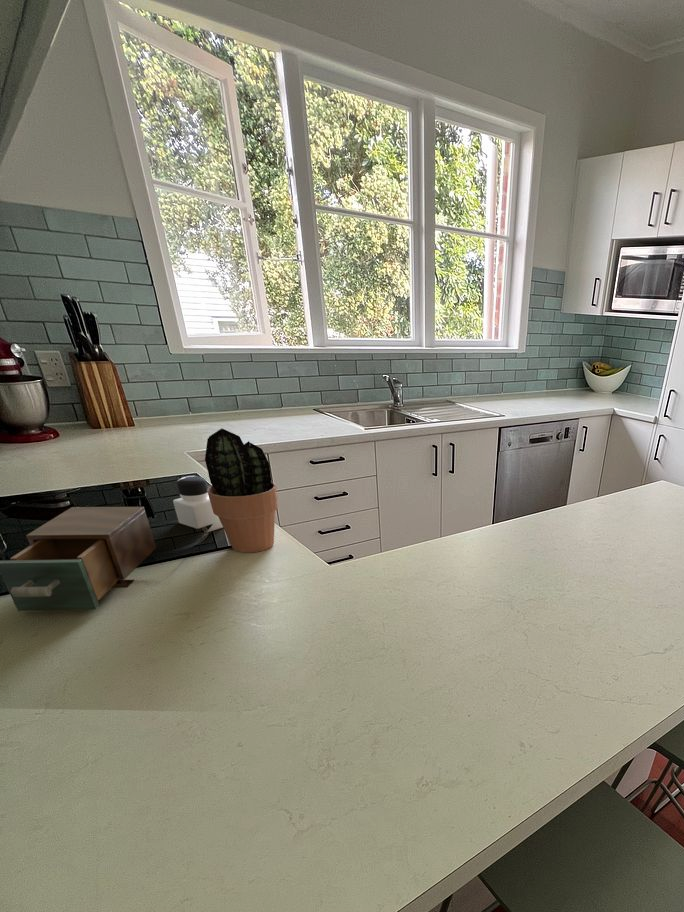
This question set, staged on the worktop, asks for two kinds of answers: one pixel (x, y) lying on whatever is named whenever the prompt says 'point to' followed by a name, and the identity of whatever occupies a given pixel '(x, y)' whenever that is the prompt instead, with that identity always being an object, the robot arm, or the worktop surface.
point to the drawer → (60, 574)
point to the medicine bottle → (195, 504)
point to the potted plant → (241, 491)
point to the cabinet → (105, 534)
